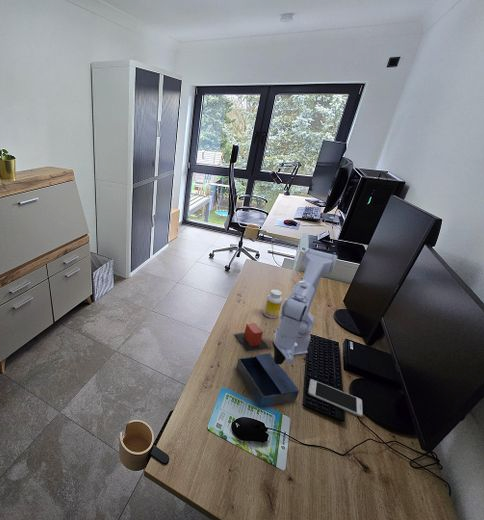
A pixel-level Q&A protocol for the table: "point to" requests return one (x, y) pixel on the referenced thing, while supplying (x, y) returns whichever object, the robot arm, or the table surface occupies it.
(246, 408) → the table surface
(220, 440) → the table surface
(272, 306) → the supplement bottle
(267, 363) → the flap
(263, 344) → the mat
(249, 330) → the block
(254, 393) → the carton
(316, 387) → the smartphone
